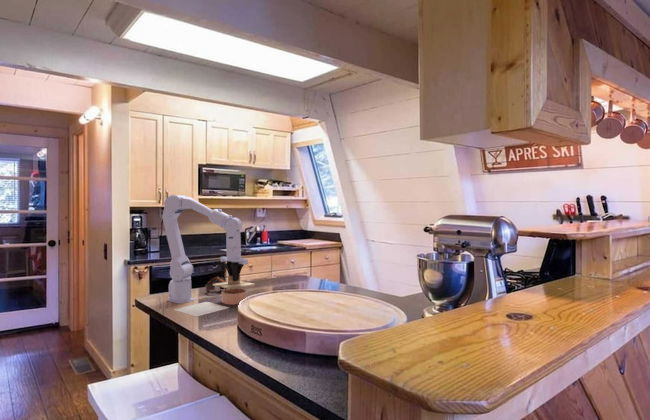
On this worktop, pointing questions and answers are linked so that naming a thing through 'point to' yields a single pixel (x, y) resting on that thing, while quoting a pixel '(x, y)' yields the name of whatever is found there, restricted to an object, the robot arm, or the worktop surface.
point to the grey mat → (201, 309)
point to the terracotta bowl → (233, 295)
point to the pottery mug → (214, 281)
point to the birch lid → (233, 283)
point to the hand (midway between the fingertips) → (234, 280)
